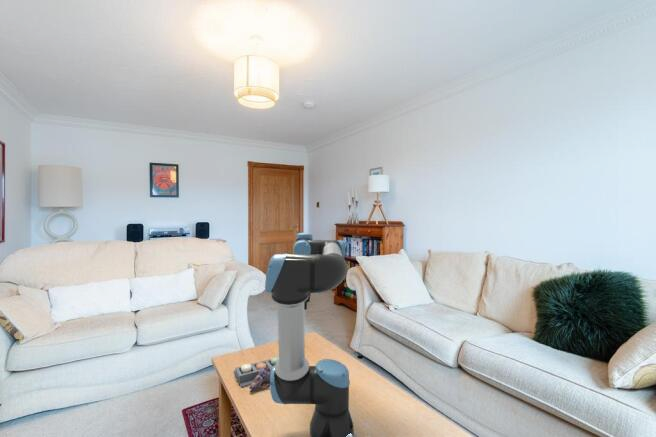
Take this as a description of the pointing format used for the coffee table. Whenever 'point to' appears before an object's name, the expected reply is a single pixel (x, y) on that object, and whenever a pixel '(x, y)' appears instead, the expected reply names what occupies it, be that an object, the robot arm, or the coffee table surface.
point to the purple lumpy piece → (261, 379)
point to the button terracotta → (260, 366)
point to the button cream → (245, 368)
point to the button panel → (249, 373)
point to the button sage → (274, 360)
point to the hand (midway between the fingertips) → (303, 315)
